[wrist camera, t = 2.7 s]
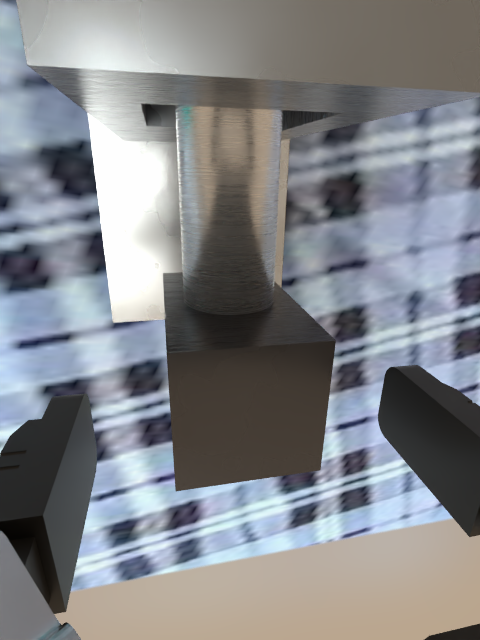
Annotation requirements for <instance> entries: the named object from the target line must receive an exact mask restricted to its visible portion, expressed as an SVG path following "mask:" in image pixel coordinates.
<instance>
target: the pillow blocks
mask: <svg viewBox="0 0 480 640" xmlns="http://www.w3.org/2000/svg"><path fill="white" fill-rule="evenodd" d="M16 1H17V7H18V13H19V19H20V25H21V31H22V37H23V43H24V49H25V55H26V61H27V65H28V66H29V67H30V68H32V69H33V70H34V71H35V72H37V73H38V74H39V75H40V76H42V77H43V78H44V79H45V80H47V81H48V82H49V83H51V84H52V85H53V86H54V87H56V88H57V89H58V90H59V91H61V92H62V93H63V94H65V95H66V96H67V97H68V98H70V99H71V100H72V101H73V102H75V103H76V104H77V105H78V106H80V107H81V108H82V109H84V110H85V111H86V112H87V113H88V119H89V127H90V135H91V144H92V152H93V160H94V169H95V177H96V185H97V193H98V202H99V210H100V218H101V227H102V235H103V243H104V252H105V260H106V268H107V276H108V285H109V293H110V301H111V310H112V318H113V323H115V322H132V321H148V320H165V308H164V288H163V273H179V272H183V266H182V243H181V221H180V198H179V175H178V152H177V130H176V107H175V105H181V106H202V107H224V108H246V109H268V110H283V114H282V134H281V155H280V175H279V196H278V216H277V236H276V257H275V277H274V281H275V282H276V283H277V284H278V285H279V286H280V287H281V284H282V267H283V249H284V231H285V214H286V196H287V178H288V161H289V143H290V138H295V137H299V136H304V135H309V134H313V133H318V132H322V131H327V130H331V129H336V128H340V127H345V126H349V125H354V124H358V123H363V122H368V121H372V120H377V119H381V118H386V117H390V116H395V115H399V114H404V113H408V112H413V111H418V110H422V109H427V108H431V107H436V106H440V105H445V104H449V103H454V102H458V101H463V100H467V99H472V98H477V97H480V0H16Z"/></svg>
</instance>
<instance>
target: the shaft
mask: <svg viewBox="0 0 480 640" xmlns="http://www.w3.org/2000/svg"><path fill="white" fill-rule="evenodd" d="M175 107H176V130H177V152H178V175H179V198H180V221H181V243H182V266H183V272H179V273H163V288H164V308H165V328H166V348H167V364H168V380H169V395H170V410H171V425H172V441H173V456H174V471H175V487H176V491H181V490H188V489H194V488H201V487H208V486H215V485H222V484H229V483H236V482H242V481H249V480H256V479H263V478H270V477H277V476H284V475H290V474H297V473H304V472H311V471H318V470H320V468H321V460H322V451H323V443H324V435H325V426H326V418H327V409H328V401H329V392H330V384H331V376H332V367H333V359H334V350H335V342H336V340H335V339H334V338H333V337H331V336H330V335H329V334H328V333H327V332H326V331H325V330H324V329H323V328H322V327H321V326H320V325H319V324H318V323H317V322H316V321H315V320H314V319H313V318H312V317H311V316H310V315H309V314H308V313H307V312H306V311H305V310H304V309H303V308H302V307H301V306H300V305H298V304H297V303H296V302H295V301H294V300H293V299H292V298H291V297H290V296H289V295H288V294H287V293H286V292H285V291H284V290H283V289H282V288H281V287H280V286H279V285H278V284H277V283H276V282H275V281H274V277H275V257H276V236H277V216H278V196H279V175H280V155H281V134H282V114H283V110H268V109H246V108H224V107H202V106H181V105H175Z"/></svg>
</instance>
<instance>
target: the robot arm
mask: <svg viewBox="0 0 480 640" xmlns="http://www.w3.org/2000/svg"><path fill="white" fill-rule="evenodd" d="M378 421H379V426H380V429H381V432H382V434H383V435H384V437H385V438H386V439H387V440H388V441H389V443H390V444H391V445H392V446H393V447H394V449H395V450H396V451H397V452H398V453H399V454H400V456H401V457H402V458H403V459H404V460H405V462H406V463H407V464H408V465H409V466H410V467H411V469H412V470H413V471H414V472H415V473H416V474H417V476H418V477H419V478H420V479H421V480H422V482H423V483H424V484H425V485H426V486H427V487H428V489H429V490H430V491H431V492H432V493H433V495H434V496H435V497H436V498H437V499H438V500H439V502H440V503H441V504H442V505H443V506H444V508H445V509H446V510H447V511H448V512H449V513H450V515H451V516H452V517H453V518H454V519H455V520H456V522H457V523H458V524H459V525H460V526H461V528H462V529H463V530H464V531H465V532H466V533H467V535H468V536H469V537H472V536H477V535H480V406H478V405H477V404H476V403H472V400H470V399H469V398H468V397H466V396H465V395H464V394H462V393H461V392H459V391H458V390H457V389H454V388H452V387H450V386H448V385H446V384H444V383H442V382H440V381H439V380H438V379H436V378H435V377H434V376H432V375H431V374H429V373H428V372H427V371H425V370H424V369H423V368H421V367H420V366H418V365H409V366H398V367H390V368H389V369H388V370H387V371H386V374H385V378H384V384H383V390H382V395H381V401H380V407H379V412H378ZM0 454H1V455H0V640H81V638H80V637H79V636H78V634H77V633H76V631H75V630H74V629H73V627H72V626H71V625H70V624H68V623H64V624H63V625H61V624H60V623H59V621H58V620H57V618H56V617H55V615H54V614H56V613H61V612H66V609H67V604H68V600H69V595H70V590H71V586H72V581H73V576H74V572H75V567H76V562H77V558H78V553H79V548H80V543H81V539H82V534H83V529H84V525H85V520H86V515H87V511H88V506H89V501H90V496H91V492H92V487H93V482H94V478H95V473H96V465H97V449H96V441H95V434H94V428H93V421H92V415H91V408H90V402H89V398H88V396H87V394H78V395H67V396H55V397H53V398H52V399H51V401H50V403H49V405H48V407H47V409H46V411H45V413H44V415H43V417H42V419H37V420H28V421H27V422H26V423H25V424H23V425H22V426H21V427H20V428H19V429H18V430H16V431H15V432H14V433H13V434H12V435H11V436H10V437H9V439H8V441H7V442H6V444H5V446H4V448H3V450H2V451H1V453H0ZM425 640H480V624H477V625H472V626H468V627H464V628H460V629H456V630H452V631H448V632H443V633H439V634H435V635H431V636H429V637H427V638H426V639H425Z"/></svg>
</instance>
